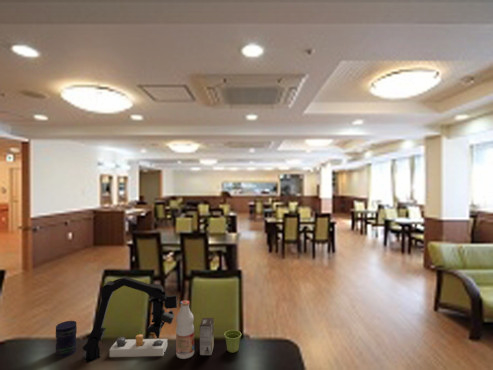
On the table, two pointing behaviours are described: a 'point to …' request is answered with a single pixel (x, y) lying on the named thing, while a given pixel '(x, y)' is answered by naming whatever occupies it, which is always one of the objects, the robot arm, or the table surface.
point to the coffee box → (206, 336)
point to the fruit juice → (184, 332)
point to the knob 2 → (158, 343)
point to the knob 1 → (120, 342)
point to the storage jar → (66, 338)
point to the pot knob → (139, 340)
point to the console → (138, 348)
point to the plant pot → (232, 340)
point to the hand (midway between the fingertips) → (158, 337)
